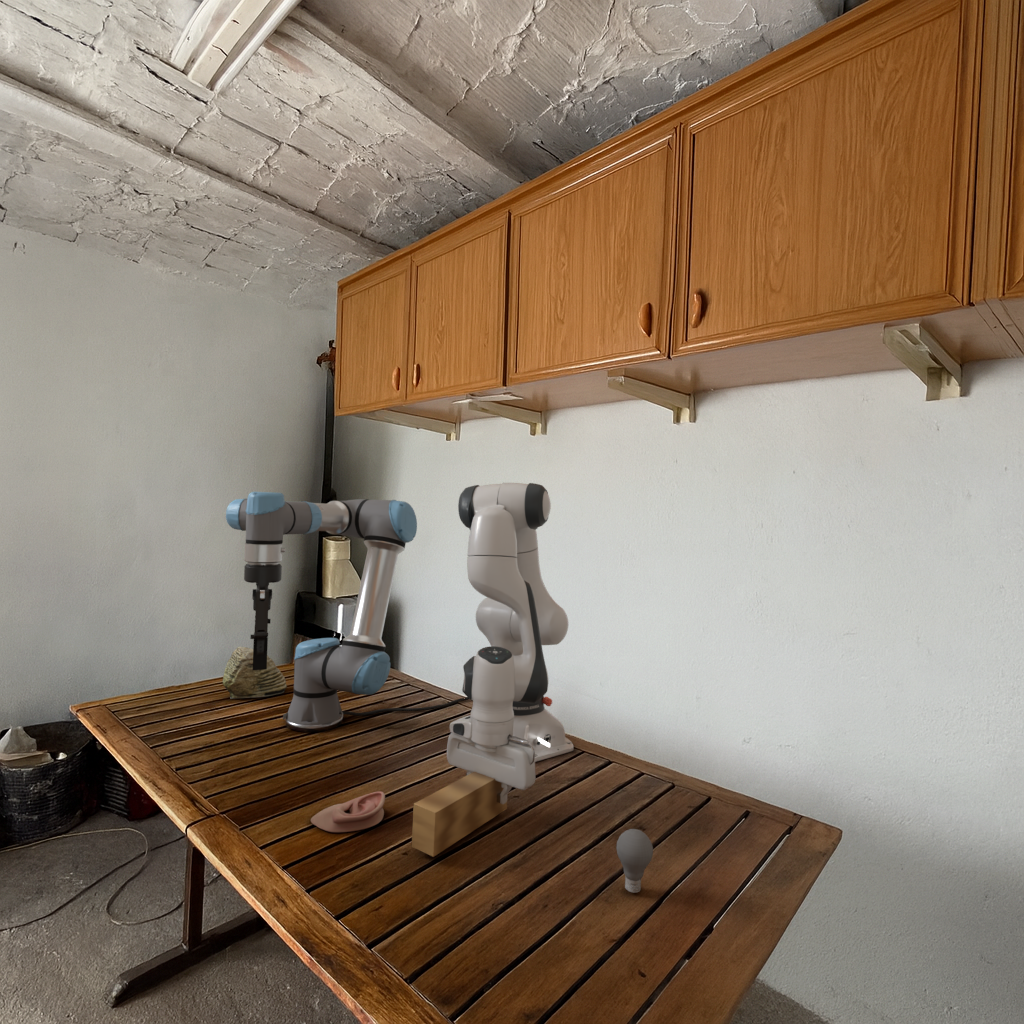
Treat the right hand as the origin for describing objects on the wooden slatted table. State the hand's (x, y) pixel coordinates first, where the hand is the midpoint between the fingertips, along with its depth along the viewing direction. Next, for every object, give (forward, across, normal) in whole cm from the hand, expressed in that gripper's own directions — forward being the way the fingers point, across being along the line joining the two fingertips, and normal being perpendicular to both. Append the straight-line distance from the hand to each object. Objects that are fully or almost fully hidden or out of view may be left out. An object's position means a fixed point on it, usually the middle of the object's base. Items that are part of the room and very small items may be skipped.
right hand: (488, 797), depth 128 cm
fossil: (+4, +102, -15) cm, 103 cm away
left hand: (-23, +47, +21) cm, 57 cm away
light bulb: (+4, -34, +5) cm, 34 cm away
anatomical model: (+4, +21, +18) cm, 28 cm away
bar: (+3, 0, +8) cm, 9 cm away
